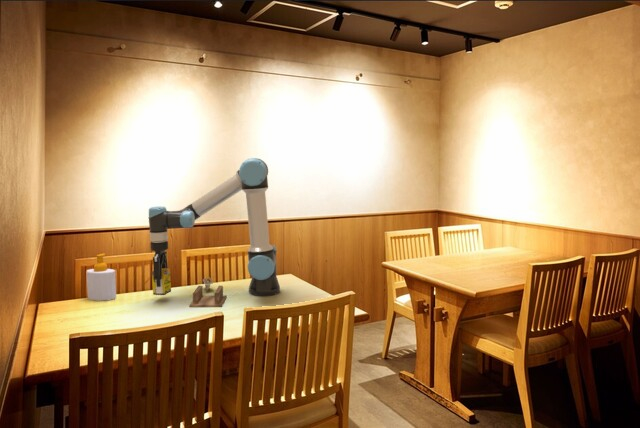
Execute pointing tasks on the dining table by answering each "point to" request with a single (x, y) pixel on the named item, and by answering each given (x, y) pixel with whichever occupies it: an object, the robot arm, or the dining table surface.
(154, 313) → the dining table surface
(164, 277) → the supplement box
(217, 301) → the slot block
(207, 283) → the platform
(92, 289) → the soap bottle
